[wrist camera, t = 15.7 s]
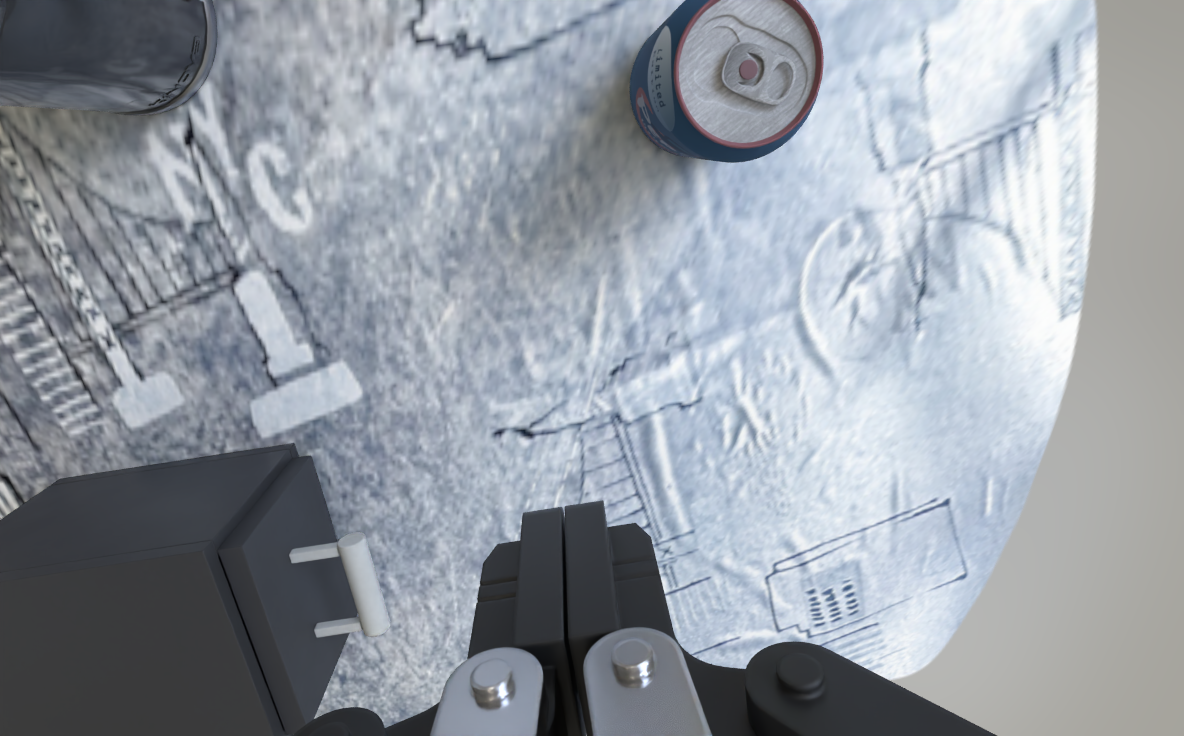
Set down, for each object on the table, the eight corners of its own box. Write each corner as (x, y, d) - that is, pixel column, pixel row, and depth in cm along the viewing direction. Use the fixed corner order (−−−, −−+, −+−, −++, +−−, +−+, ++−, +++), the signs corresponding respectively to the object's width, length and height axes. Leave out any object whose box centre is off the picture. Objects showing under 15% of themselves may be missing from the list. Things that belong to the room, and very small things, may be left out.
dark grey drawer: (378, 444, 42) (327, 533, 33) (420, 600, 46) (386, 720, 36) (91, 488, 42) (-42, 589, 33) (157, 641, 46) (55, 771, 36)
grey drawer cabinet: (294, 442, 43) (202, 551, 32) (347, 611, 47) (282, 759, 36) (59, 478, 43) (-116, 599, 32) (133, 644, 47) (1, 802, 36)
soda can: (609, 132, 38) (633, 130, 27) (652, -1, 36) (697, -65, 25) (725, 173, 39) (796, 188, 28) (773, 45, 37) (870, 5, 26)
